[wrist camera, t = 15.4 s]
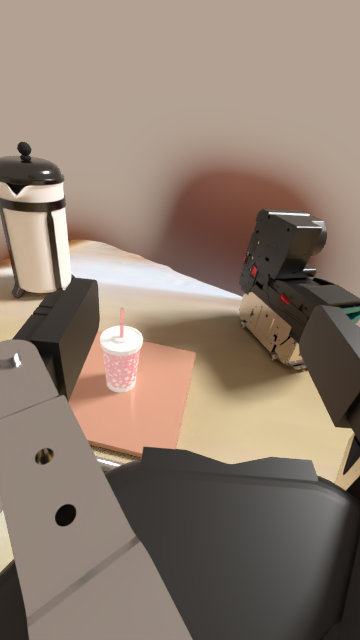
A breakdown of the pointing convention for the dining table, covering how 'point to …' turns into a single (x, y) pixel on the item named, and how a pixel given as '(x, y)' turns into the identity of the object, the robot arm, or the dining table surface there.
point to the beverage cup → (121, 355)
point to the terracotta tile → (134, 400)
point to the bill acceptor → (286, 282)
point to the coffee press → (34, 222)
